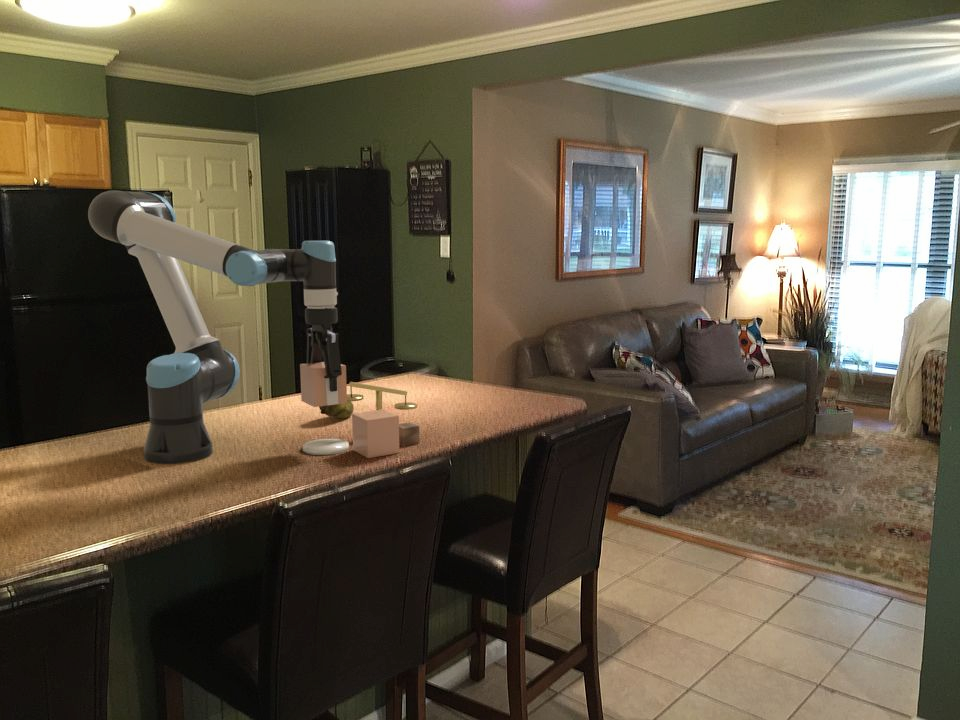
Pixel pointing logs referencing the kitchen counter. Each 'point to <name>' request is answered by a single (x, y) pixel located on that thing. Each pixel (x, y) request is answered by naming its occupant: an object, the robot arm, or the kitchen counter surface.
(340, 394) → the peach pink cube
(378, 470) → the kitchen counter surface
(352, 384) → the balance
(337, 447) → the dish
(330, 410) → the potato
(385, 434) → the tan cardboard-like box
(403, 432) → the gray metal block
